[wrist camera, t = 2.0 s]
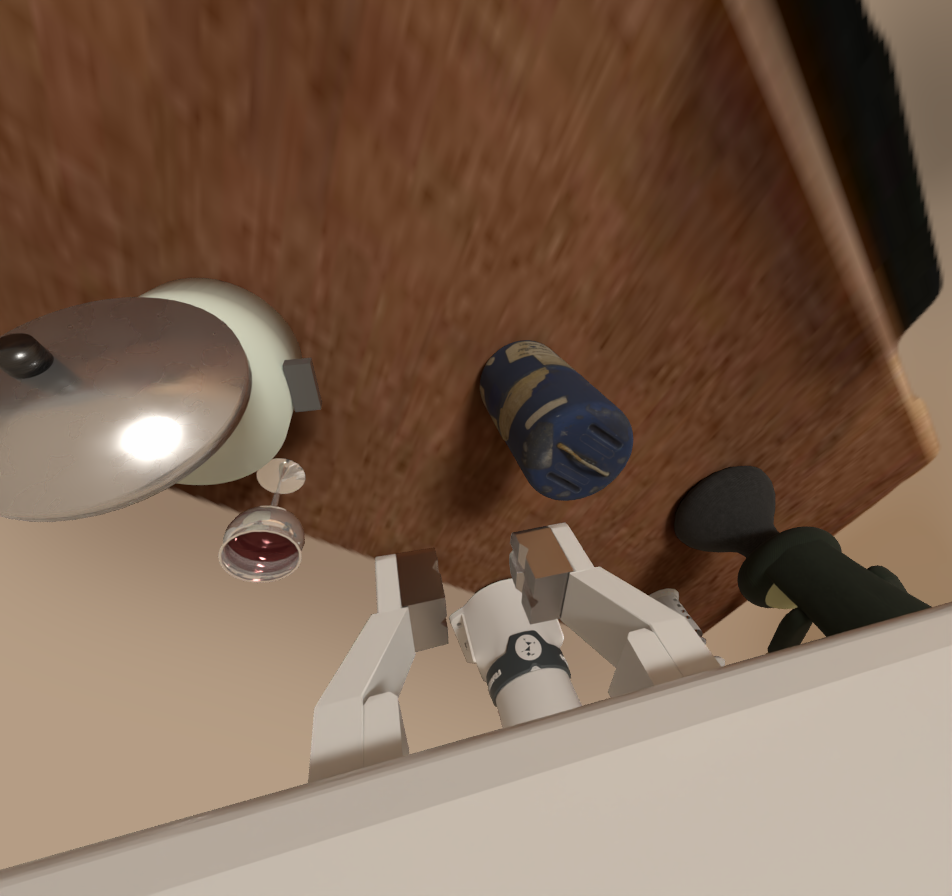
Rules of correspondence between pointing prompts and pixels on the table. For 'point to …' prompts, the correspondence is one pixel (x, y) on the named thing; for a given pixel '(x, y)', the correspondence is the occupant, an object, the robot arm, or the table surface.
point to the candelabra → (787, 560)
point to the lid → (113, 404)
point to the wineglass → (266, 530)
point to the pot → (273, 376)
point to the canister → (554, 421)
